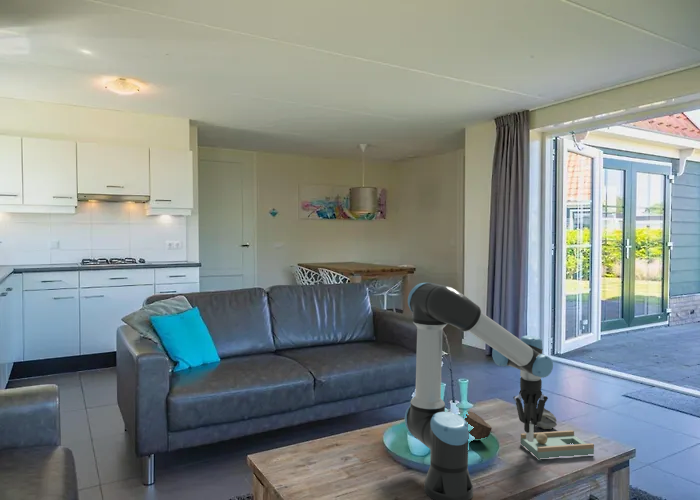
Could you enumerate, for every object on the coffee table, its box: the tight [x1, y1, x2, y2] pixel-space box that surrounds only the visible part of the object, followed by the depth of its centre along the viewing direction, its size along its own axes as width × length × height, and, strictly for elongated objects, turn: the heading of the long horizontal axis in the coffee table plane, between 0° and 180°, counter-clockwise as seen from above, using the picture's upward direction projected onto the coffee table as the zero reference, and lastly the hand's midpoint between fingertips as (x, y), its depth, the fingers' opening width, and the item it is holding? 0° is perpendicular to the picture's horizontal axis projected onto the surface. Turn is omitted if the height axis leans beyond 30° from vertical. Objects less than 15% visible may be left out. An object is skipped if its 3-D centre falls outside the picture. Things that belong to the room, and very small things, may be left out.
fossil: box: [536, 407, 558, 430], centre depth 209 cm, size 11×9×8 cm
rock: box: [465, 411, 493, 439], centre depth 195 cm, size 12×10×10 cm
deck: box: [520, 430, 595, 459], centre depth 187 cm, size 22×13×4 cm, turn 99°
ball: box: [536, 432, 548, 444], centre depth 186 cm, size 4×4×4 cm
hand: (529, 440), depth 185 cm, fingers closed
